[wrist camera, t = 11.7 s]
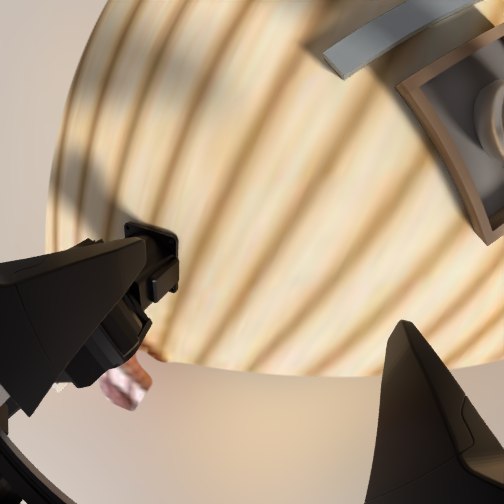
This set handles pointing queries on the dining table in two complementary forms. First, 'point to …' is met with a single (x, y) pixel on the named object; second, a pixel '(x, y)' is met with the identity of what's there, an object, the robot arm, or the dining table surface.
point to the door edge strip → (389, 32)
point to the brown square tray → (463, 124)
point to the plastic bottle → (491, 120)
